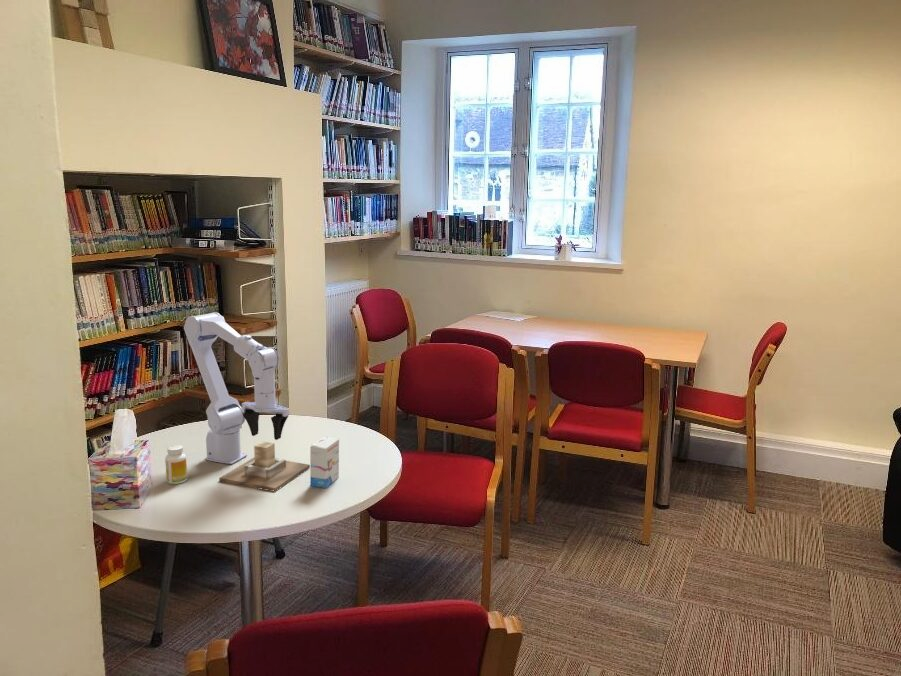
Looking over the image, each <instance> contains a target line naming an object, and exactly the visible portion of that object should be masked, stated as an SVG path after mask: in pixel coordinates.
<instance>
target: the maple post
mask: <svg viewBox="0 0 901 676" xmlns="http://www.w3.org/2000/svg"><path fill="white" fill-rule="evenodd" d="M275 446H276V445H275V443H273V442H269V441H268V442H267V441H260V442H259V443H257V444H255V445H254V446H253V450H254V451H253V452H254V453H253V455H254V457H255V466H260V467H265V468H269V467H271V466H272V465H274V464H275V458H276V455H275V454H276V452H275V451H276V449H275Z"/></svg>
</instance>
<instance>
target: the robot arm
mask: <svg viewBox="0 0 901 676" xmlns="http://www.w3.org/2000/svg"><path fill="white" fill-rule="evenodd" d="M185 319H186V320H185V322H184V325H183V330H184V333H185V337H186V339H187V341H188V344H189V346H190V349H191V351H192V354H193V356H194V359H195V362H196V365H197V367H198V370H199V373H200V374H201V375H200V376H201V378H202V381H203V385H204V386H205V389H206V392H207V394H208V397H209V400H210V404H209V405H208V406H207V409H206V410H205V413H206V417H207V425H208V427H209V430H208V432H207V433H206V438H205V444H206V457H205V458H204V460H205V461H209V462H216V463H221V464H227V465H233V464H235V463H236V462H238V461H240V460H242V459H243V458H245V457H247V456H248V454H247V453H243V452H242V451H241V450H242V449H241V448H242V447H241V429H242V428H243V426H242V425H244V423H245V422H246V423H247V425H248V427H249V430H250V433H251V437H255V436H257V435H258V434H259V420H260V413H266V414H271V415H273V416H271V418H270V420H271V423H272V426H273V427H272V428H273V438H274V440H275V441H278V440H279V439H281V438H282V434H283V429H284V426H285V424H286V422H287V419H288V418H289V416H290V408H289V407H285V406H283V405H279V404H277V399H276V370H275V369H276V367H277V366H278V365H279V362H280V356H279V353H278V352H277V350H276V349H275V348H274V347H272V346H268V347H266V346H264V345H263V344H262V343H259V342H258V341H256V340H255V339H253V337H252V336H251V335H250V334H248V335H247V334H242V335H241V334H240V333H238V331H236V330H235V329H234V328H233V327H232V326H231V325H229V324H228V323H227V322H226V320H225V317H224V316H223V315H221V314H220V313H219V312H217V311H213V312H211V313H205V314H199V315H191V316H188V317H187V318H185ZM218 337H219V338H220V339H222V340H224V341H225V342H227V343H228V344H230V345H232V346H233V351H234V352H235V353H237V354H238V355H239V356H241V357H242V358H243V359H244V360H246V361H248V365H249V367H250V369H251V375H252V377H253V384H254V385H253V386H254V387H253V388H254V390H253V393H254V402H253V401H251V402H250V401H245V402H242V403H241V405H240V402H239V400H238V399H237V398H235V397H232V396H231V395H229V391H228V389H227V387H226V384H225V381H224V378H223V376H222V373H221V371H220V366H219V365H218V363H217V359H216V356H215V354H214V351H213V349H212V346H213V343H214V342H216V340H217V338H218Z"/></svg>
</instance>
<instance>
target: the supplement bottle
mask: <svg viewBox="0 0 901 676" xmlns="http://www.w3.org/2000/svg"><path fill="white" fill-rule="evenodd" d="M166 450H167V454H166V456H165V458H164V461H165V476H166V482H167V483H168V484H170V485H178V484H179V485H180V484H182V483H185V482H186V481H187V480H188V471H187V470H188V468H187V465H188V464H187V455H186V454H185V452H184V447H183V446H182V445H180V444H176V445H175V444H174V445H169V446H168V447H167V449H166Z"/></svg>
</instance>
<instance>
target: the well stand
mask: <svg viewBox="0 0 901 676" xmlns="http://www.w3.org/2000/svg"><path fill="white" fill-rule="evenodd" d="M308 468H309V469H310V464H307V463H301V462H295V461H290V460H286V459H282V458H276V457H275V464H274V465H272V466H271V467H269V468H265V467H260V466H255V456H254V457H253V458H251V459H249V460H247V461H246V462H243V464H241V465H239V466H237V467H235V468H234V469H231V470H230V471H228V472H227V473H225V474H223V475H222V476H220V477H219V478H218V479H219V482H221V483H226V484H231V483H232V485H237V486H242V485H243V486H244V487H248V486H249V487H248V488H253V487H255V488H254V489H258V488H262V489H261V490H264V489H268V490H267V491H269V490H274V491H276V490H277V489H278V490H280V489H281V488H283V487H285V486H286V485H287V484H289V483H290V482H291V480H292V481H293V480H294V479H296V478H297V477H299V476H301V475H302V474H303V473H304V471H305V472H306V471H307V470H309V469H308ZM301 473H302V474H301ZM298 475H299V476H298ZM288 482H289V483H288ZM285 484H286V485H285ZM243 486H242V487H243ZM282 486H283V487H282ZM280 487H281V488H280ZM279 488H280V489H279ZM278 490H277V491H278ZM274 491H273V492H274ZM277 491H276V492H277Z"/></svg>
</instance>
